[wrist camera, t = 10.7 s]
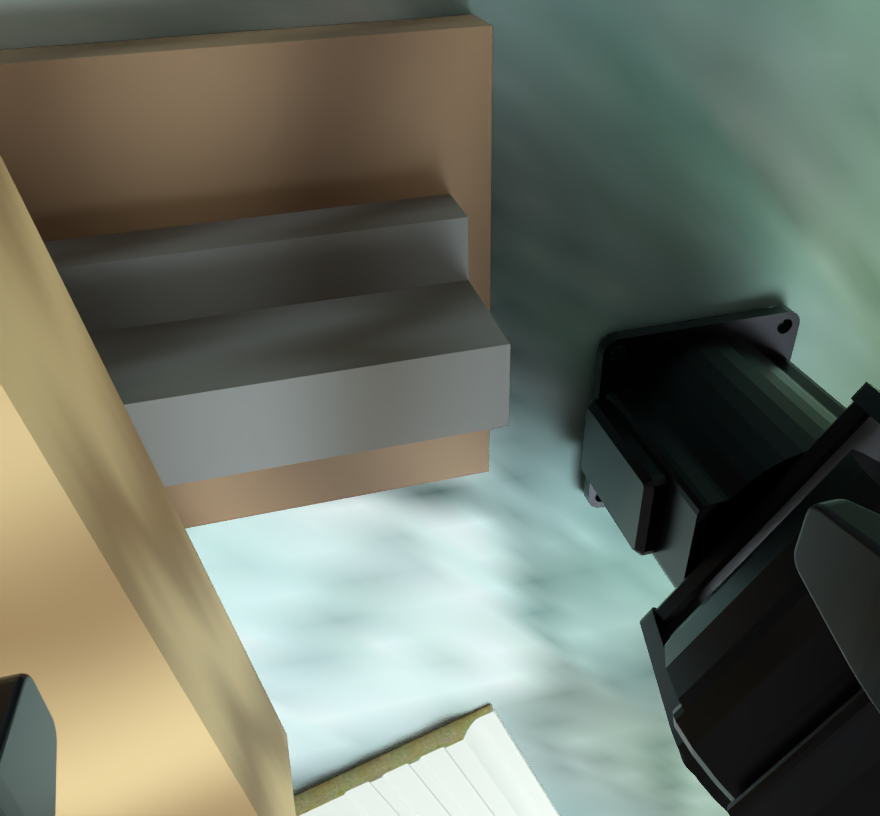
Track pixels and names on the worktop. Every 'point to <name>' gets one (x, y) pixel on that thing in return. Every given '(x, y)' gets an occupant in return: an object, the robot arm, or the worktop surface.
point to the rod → (112, 581)
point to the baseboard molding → (438, 777)
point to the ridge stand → (276, 249)
